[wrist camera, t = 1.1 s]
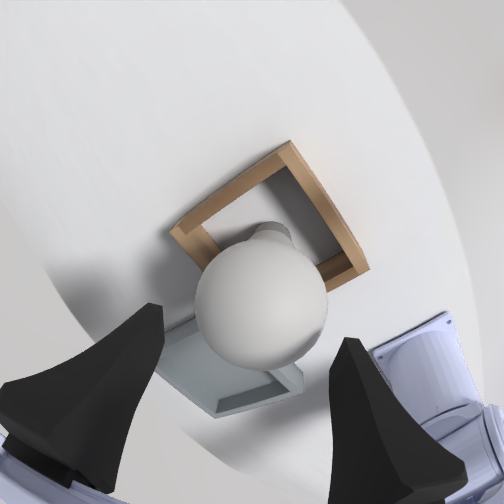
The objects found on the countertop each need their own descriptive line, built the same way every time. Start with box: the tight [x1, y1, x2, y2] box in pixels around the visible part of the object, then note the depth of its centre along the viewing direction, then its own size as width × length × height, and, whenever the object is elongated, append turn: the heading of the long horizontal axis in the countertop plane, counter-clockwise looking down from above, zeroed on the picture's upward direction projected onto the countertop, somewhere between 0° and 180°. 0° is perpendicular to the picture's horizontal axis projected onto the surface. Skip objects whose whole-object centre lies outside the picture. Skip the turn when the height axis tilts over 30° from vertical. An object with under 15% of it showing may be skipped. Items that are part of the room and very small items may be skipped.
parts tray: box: [154, 317, 303, 419], centre depth 27 cm, size 11×11×2 cm
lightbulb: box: [195, 221, 328, 371], centre depth 16 cm, size 6×6×11 cm
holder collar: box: [169, 140, 370, 293], centre depth 20 cm, size 9×9×2 cm
